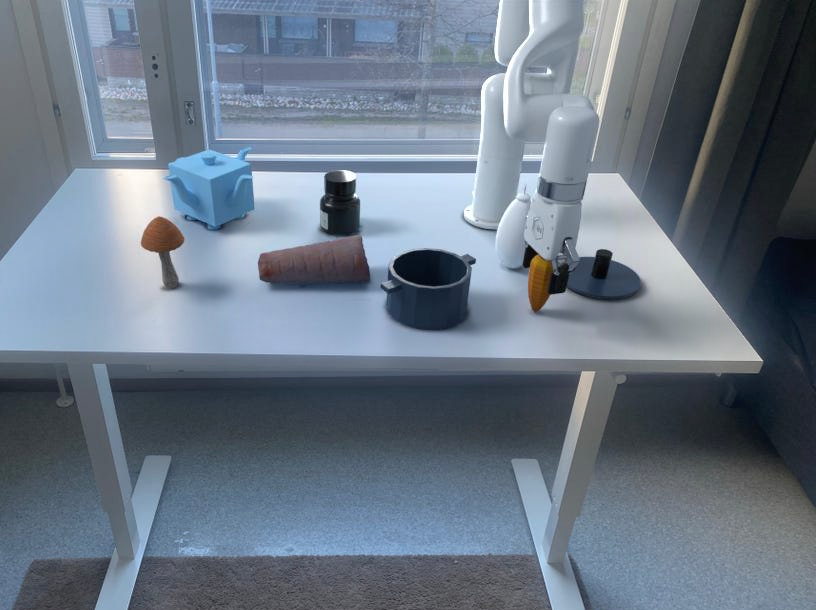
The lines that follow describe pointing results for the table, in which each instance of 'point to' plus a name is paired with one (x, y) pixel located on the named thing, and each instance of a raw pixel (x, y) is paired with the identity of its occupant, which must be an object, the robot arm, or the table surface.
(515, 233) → the white egg-shaped bulb
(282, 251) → the food
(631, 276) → the saucepan lid
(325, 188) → the ink bottle
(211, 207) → the teakettle
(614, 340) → the table surface
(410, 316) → the saucepan
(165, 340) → the table surface
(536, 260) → the carrot
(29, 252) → the table surface
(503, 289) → the table surface
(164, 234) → the mushroom
